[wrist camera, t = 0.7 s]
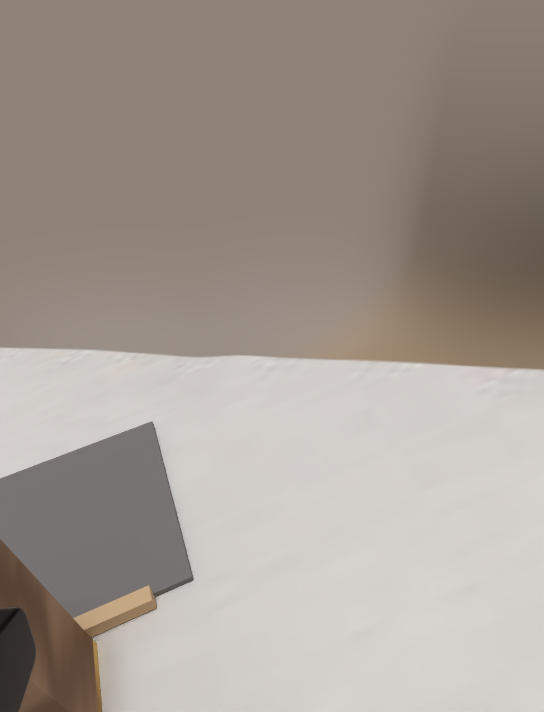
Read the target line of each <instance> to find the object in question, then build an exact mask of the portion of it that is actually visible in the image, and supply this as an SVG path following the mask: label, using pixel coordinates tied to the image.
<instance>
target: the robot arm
mask: <svg viewBox="0 0 544 712" xmlns="http://www.w3.org/2000/svg"><path fill="white" fill-rule="evenodd" d="M35 659H36V645H35V641H34V638H33V635H32V631H31V628H30V625H29V621H28V618H27V615H26V612H25V611H24V610H23V609H22V608H20V607H10V608H0V712H19V711H20V708H21V705H22V702H23V698H24V695H25V692H26V689H27V686H28V683H29V679H30V676H31V673H32V670H33V667H34V663H35Z"/></svg>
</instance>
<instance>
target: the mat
mask: <svg viewBox="0 0 544 712" xmlns="http://www.w3.org/2000/svg"><path fill="white" fill-rule="evenodd" d="M0 539H1V540H2V541H3V542H4V543H5V545H6V546H7V547H8V548H9V549H10V550H11V551H12V552H13V553H14V554H15V555H16V557H17V558H18V559H19V560H20V561H21V562H22V563H23V564H24V565H25V566H26V567H27V569H28V570H29V571H30V572H31V573H32V574H33V575H34V576H35V577H36V578H37V579H38V581H39V582H40V583H41V584H42V585H43V586H44V587H45V588H46V589H47V590H48V591H49V593H50V594H51V595H52V596H53V597H54V598H55V599H56V600H57V601H58V602H59V603H60V605H61V606H62V607H63V608H64V609H65V610H66V611H67V612H68V613H69V614H70V615H71V617H72V618H73V619H74V620H75V621H76V622H77V623H78V624H79V625H80V626H81V627H82V629H83V630H84V631H85V632H86V633H87V634H88V635H89V636H90V637H93V636H95V635H97V634H100V633H102V632H104V631H106V630H109V629H111V628H113V627H115V626H118V625H120V624H122V623H124V622H127V621H129V620H131V619H133V618H136V617H138V616H140V615H142V614H145V613H147V612H149V611H151V610H154V609H156V608H157V606H156V601H155V596H158V595H160V594H162V593H164V592H167V591H169V590H171V589H173V588H176V587H178V586H180V585H183V584H185V583H187V582H189V581H192V580H193V576H192V572H191V568H190V564H189V560H188V556H187V553H186V549H185V545H184V541H183V537H182V533H181V529H180V525H179V521H178V518H177V514H176V510H175V506H174V502H173V498H172V494H171V490H170V486H169V483H168V479H167V475H166V471H165V467H164V463H163V459H162V455H161V452H160V448H159V444H158V440H157V436H156V432H155V428H154V424H153V422H149V423H146V424H144V425H141V426H138V427H136V428H133V429H130V430H128V431H125V432H122V433H120V434H117V435H114V436H112V437H109V438H106V439H104V440H101V441H99V442H96V443H93V444H91V445H88V446H85V447H83V448H80V449H77V450H75V451H72V452H69V453H67V454H64V455H61V456H59V457H56V458H54V459H51V460H48V461H46V462H43V463H40V464H38V465H35V466H32V467H30V468H27V469H24V470H22V471H19V472H16V473H14V474H11V475H8V476H6V477H3V478H1V479H0Z"/></svg>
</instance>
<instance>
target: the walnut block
mask: <svg viewBox="0 0 544 712" xmlns="http://www.w3.org/2000/svg"><path fill="white" fill-rule="evenodd" d="M10 607H20V608H22V609H23V610H24V611H25V612H26V615H27V618H28V621H29V625H30V628H31V631H32V635H33V638H34V641H35V645H36V659H35V663H34V667H33V670H32V673H31V676H30V679H29V683H28V686H27V689H26V692H25V695H24V698H23V702H22V705H21V708H20V711H19V712H102V702H101V690H100V678H99V665H98V653H97V644H96V643H95V642H94V641H93V639H92V638H91V637H90V636H89V635H88V634H87V633H86V632H85V631H84V630H83V629H82V627H81V626H80V625H79V624H78V623H77V622H76V621H75V620H74V619H73V618H72V617H71V615H70V614H69V613H68V612H67V611H66V610H65V609H64V608H63V607H62V606H61V605H60V603H59V602H58V601H57V600H56V599H55V598H54V597H53V596H52V595H51V594H50V593H49V591H48V590H47V589H46V588H45V587H44V586H43V585H42V584H41V583H40V582H39V581H38V579H37V578H36V577H35V576H34V575H33V574H32V573H31V572H30V571H29V570H28V569H27V567H26V566H25V565H24V564H23V563H22V562H21V561H20V560H19V559H18V558H17V557H16V555H15V554H14V553H13V552H12V551H11V550H10V549H9V548H8V547H7V546H6V545H5V543H4V542H3V541H2V540H1V539H0V608H10Z"/></svg>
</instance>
